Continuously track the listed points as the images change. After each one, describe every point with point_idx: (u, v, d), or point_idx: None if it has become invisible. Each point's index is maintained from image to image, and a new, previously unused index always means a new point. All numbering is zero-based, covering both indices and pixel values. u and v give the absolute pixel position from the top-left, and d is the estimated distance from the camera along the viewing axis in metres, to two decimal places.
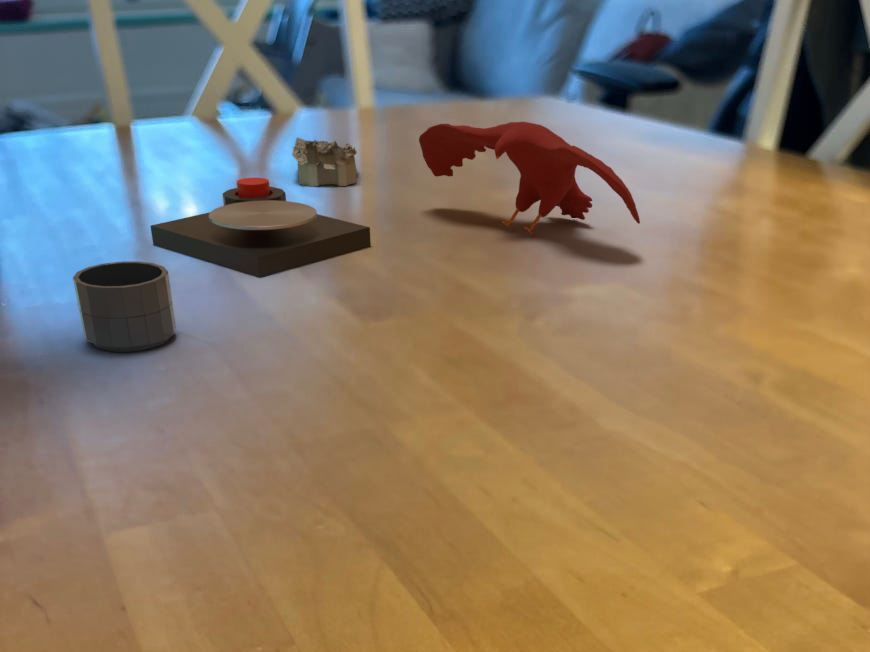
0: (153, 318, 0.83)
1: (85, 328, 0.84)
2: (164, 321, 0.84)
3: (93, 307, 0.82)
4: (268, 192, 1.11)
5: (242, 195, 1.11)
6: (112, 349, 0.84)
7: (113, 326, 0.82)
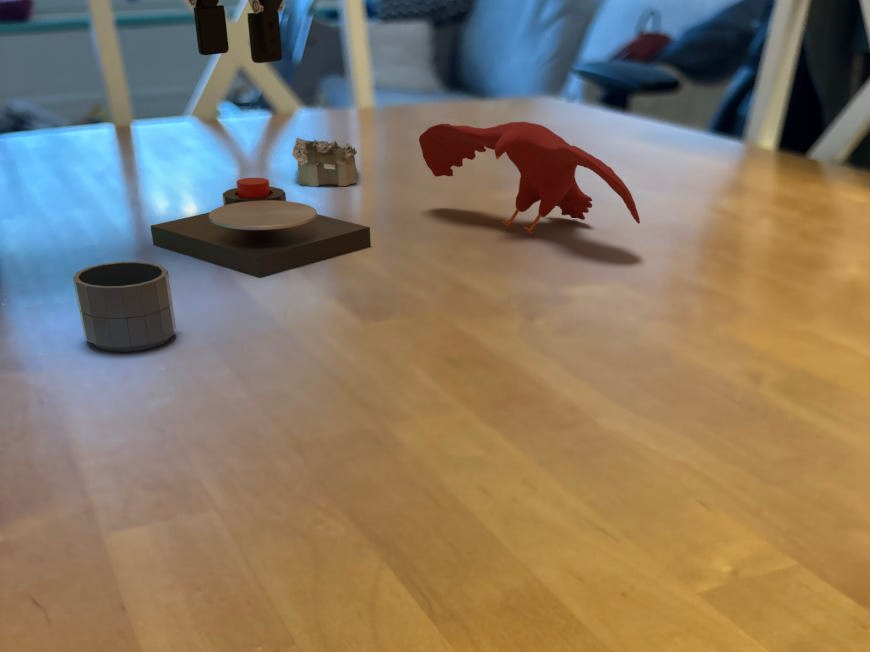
0: (153, 318, 0.83)
1: (85, 328, 0.84)
2: (164, 321, 0.84)
3: (93, 307, 0.82)
4: (268, 192, 1.11)
5: (242, 195, 1.11)
6: (112, 349, 0.84)
7: (113, 326, 0.82)
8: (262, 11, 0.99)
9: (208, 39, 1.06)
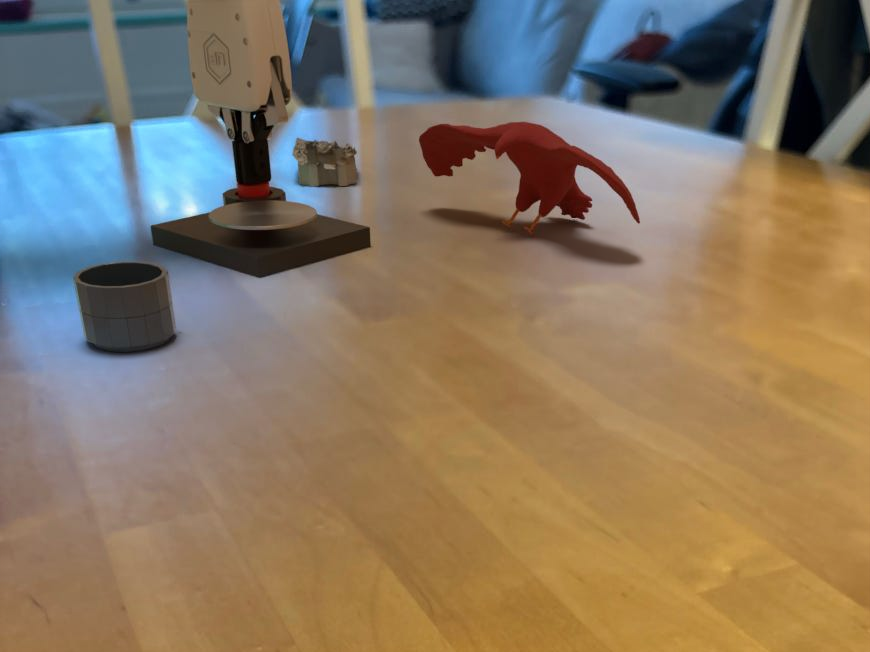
0: (153, 318, 0.83)
1: (85, 328, 0.84)
2: (164, 321, 0.84)
3: (93, 307, 0.82)
4: (268, 194, 1.11)
5: None
6: (112, 349, 0.84)
7: (113, 326, 0.82)
8: (252, 141, 1.08)
9: None
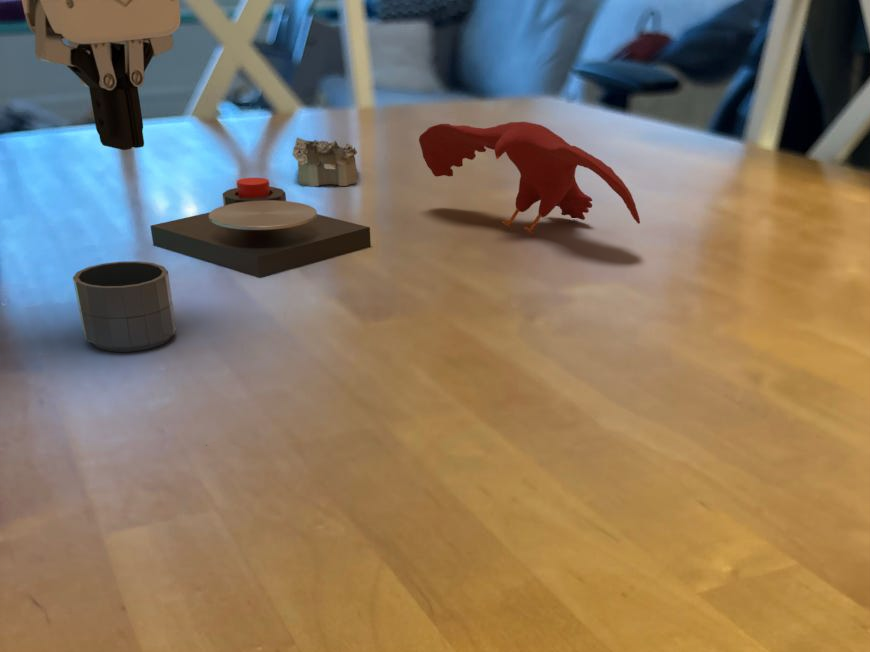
0: (153, 318, 0.83)
1: (85, 328, 0.84)
2: (164, 321, 0.84)
3: (93, 307, 0.82)
4: (268, 192, 1.11)
5: (242, 195, 1.11)
6: (112, 349, 0.84)
7: (113, 326, 0.82)
8: None
9: None
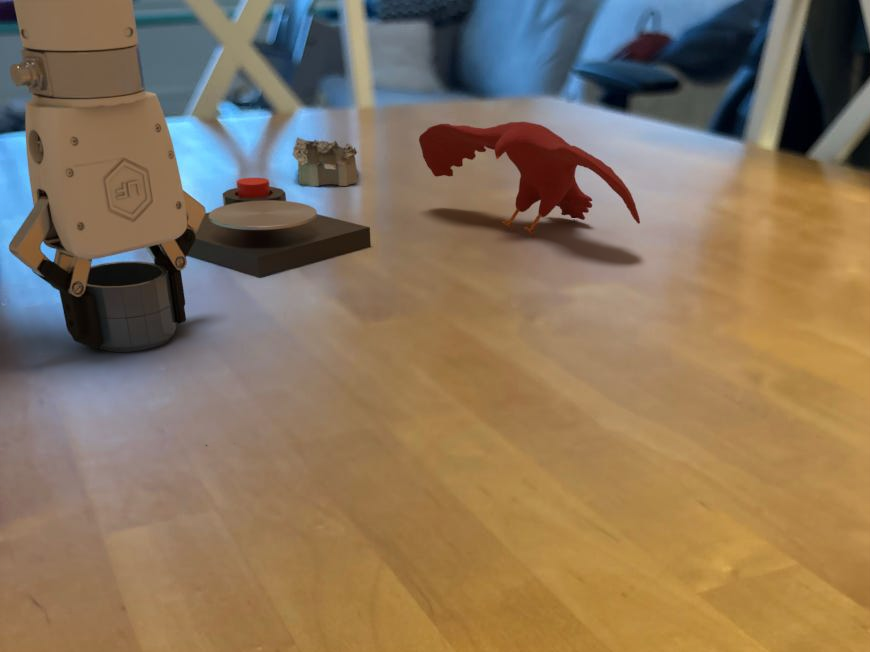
0: (153, 318, 0.83)
1: None
2: (164, 321, 0.84)
3: None
4: (268, 192, 1.11)
5: (242, 195, 1.11)
6: (112, 349, 0.84)
7: (113, 326, 0.82)
8: None
9: None
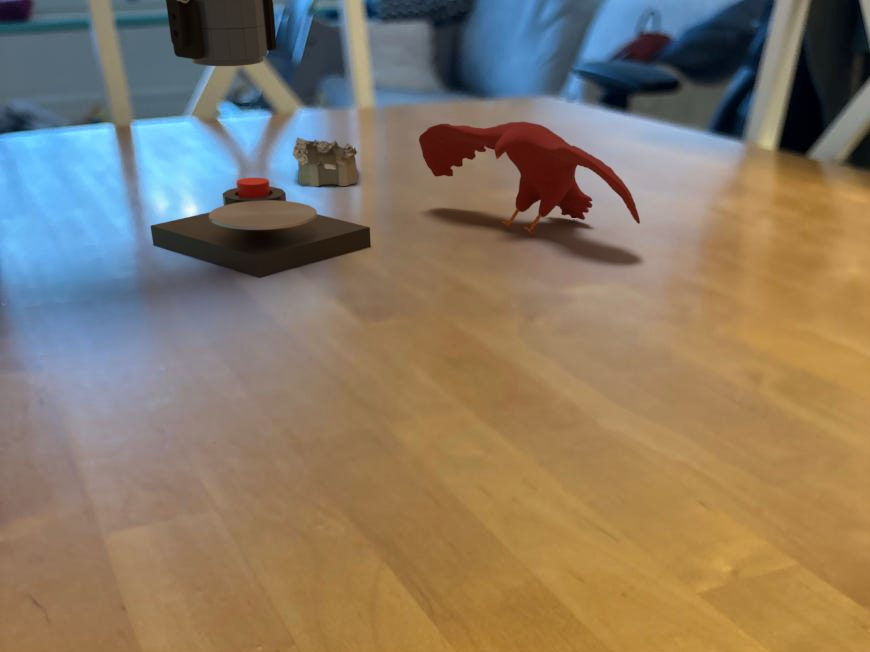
0: (250, 32, 0.90)
1: None
2: (260, 38, 0.91)
3: None
4: (268, 192, 1.11)
5: (242, 195, 1.11)
6: (212, 63, 0.91)
7: (214, 37, 0.89)
8: None
9: None
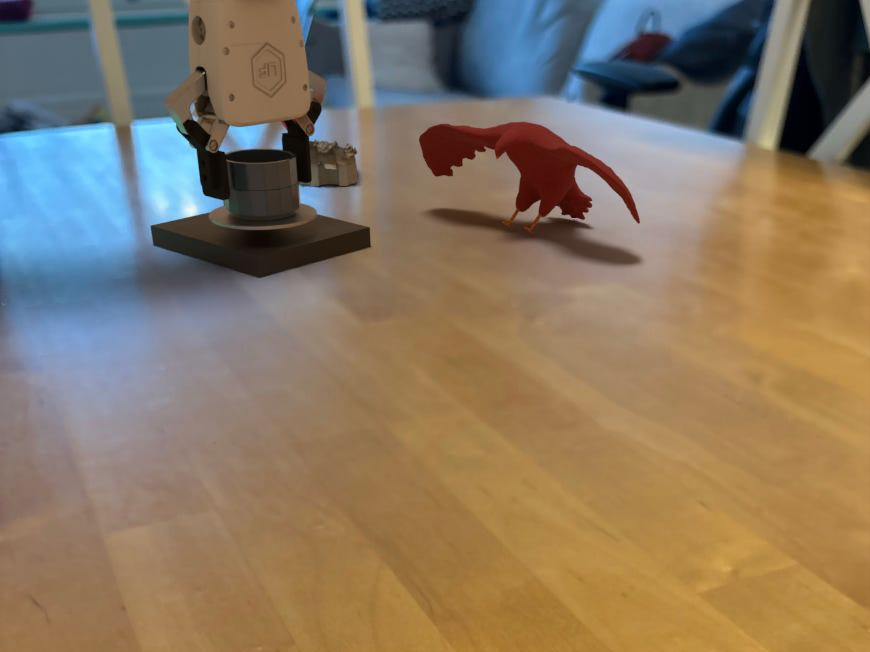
0: (286, 192, 1.01)
1: (229, 201, 1.01)
2: (293, 196, 1.02)
3: (238, 181, 0.99)
4: None
5: None
6: (251, 218, 1.01)
7: (254, 197, 1.00)
8: None
9: None
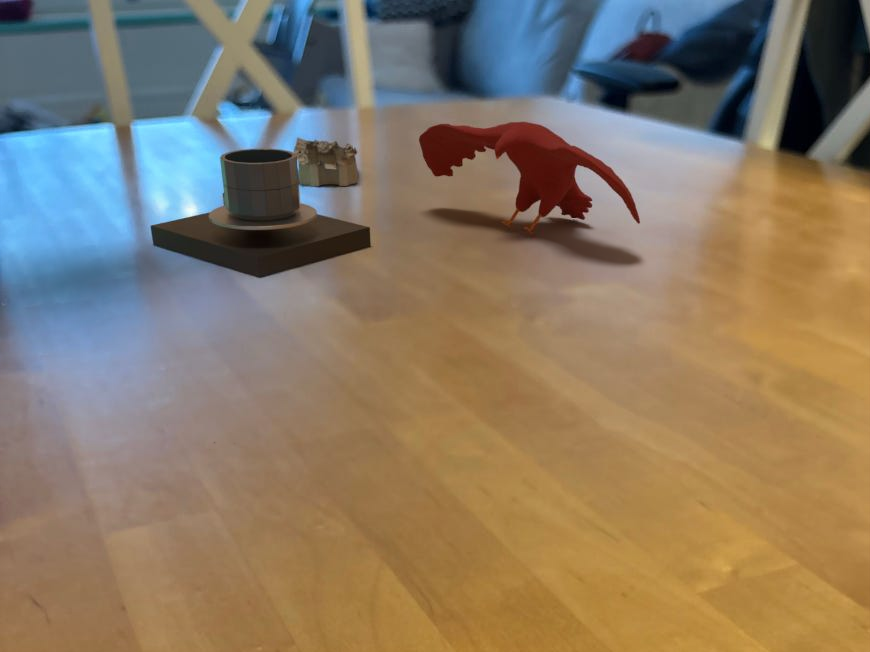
0: (286, 192, 1.01)
1: (229, 201, 1.01)
2: (293, 196, 1.02)
3: (238, 181, 0.99)
4: None
5: None
6: (251, 218, 1.01)
7: (254, 197, 1.00)
8: None
9: None
